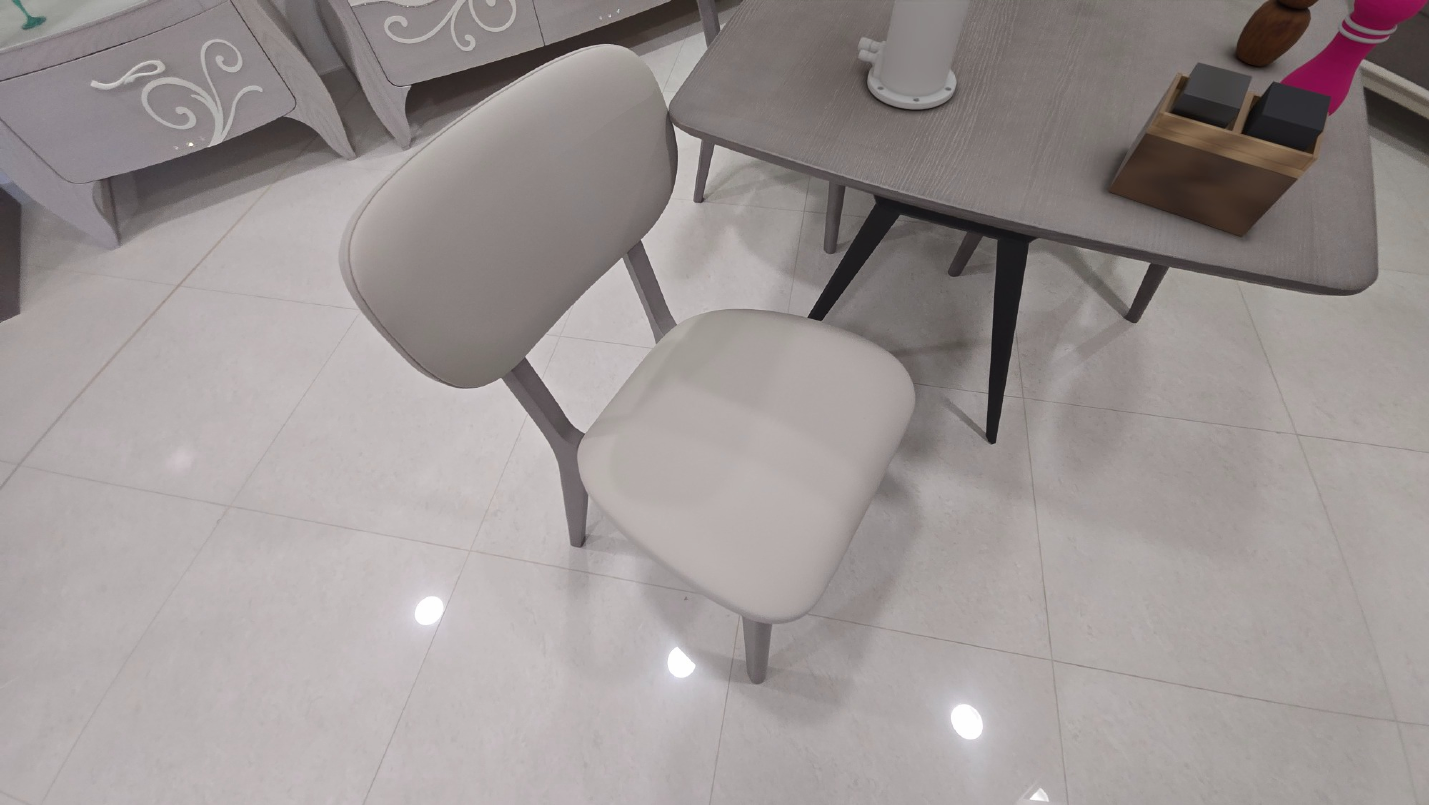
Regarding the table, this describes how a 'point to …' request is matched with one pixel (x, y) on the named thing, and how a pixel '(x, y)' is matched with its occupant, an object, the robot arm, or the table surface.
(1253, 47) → the wooden figurine
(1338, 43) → the pink bowling pin
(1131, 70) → the table surface
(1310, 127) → the black block
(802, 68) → the table surface
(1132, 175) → the wooden divided box
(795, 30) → the table surface
